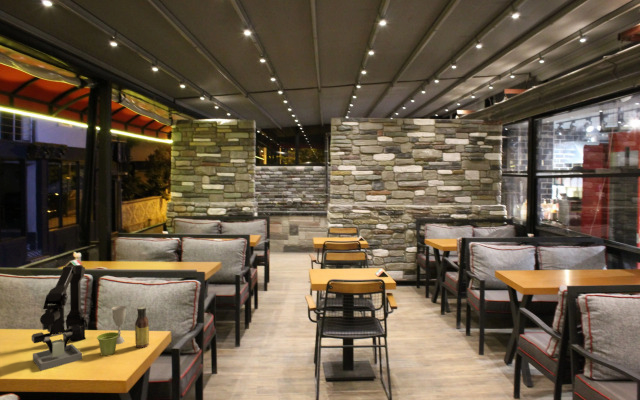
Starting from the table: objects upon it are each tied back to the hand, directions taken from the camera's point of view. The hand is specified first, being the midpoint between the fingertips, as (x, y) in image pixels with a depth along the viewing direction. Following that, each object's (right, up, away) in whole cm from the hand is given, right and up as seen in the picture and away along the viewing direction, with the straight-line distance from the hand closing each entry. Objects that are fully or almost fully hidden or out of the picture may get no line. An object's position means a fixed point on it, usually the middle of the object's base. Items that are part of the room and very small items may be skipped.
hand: (57, 351), depth 184 cm
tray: (0, -4, 0) cm, 4 cm away
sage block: (0, -1, 0) cm, 1 cm away
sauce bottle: (+32, -4, +16) cm, 36 cm away
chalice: (+18, -4, +22) cm, 28 cm away
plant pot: (+20, -4, +8) cm, 21 cm away
